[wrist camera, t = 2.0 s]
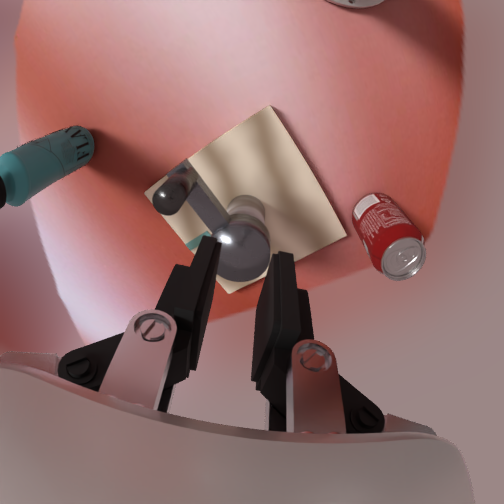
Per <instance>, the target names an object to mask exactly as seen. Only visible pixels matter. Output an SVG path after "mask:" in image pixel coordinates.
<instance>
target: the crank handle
mask: <svg viewBox="0 0 504 504" xmlns="http://www.w3.org/2000/svg"><path fill="white" fill-rule="evenodd" d="M166 175H167V176H168V179H167V180H166V181H165V182H164V183H163V184H162V185H161V186H160V187H159V188H158V189H157V190H156V191H155V193H154V194H153V197H152V202H153V206H154V208H155V209H156V210H157V211H158V212H159V213H160V214H163V215H166V216H170V215H174V214H176V213H177V212H178V211H179V210H180V208H181V207H182V205H183V204H184V202H185V201H187V202H188V203H189V205H190V206H191V207H192V208H193V210H194V211H195V212H196V213H197V215H198V216H199V217H200V219H201V220H202V221H203V222H204V224H205V225H206V226H207V227H208V229H209V230H210V231H211V232H212V234H211V237H215V238H217V242H221V243H222V247H221V252H220V258H219V264H218V270H217V275H219V276H220V277H222V278H224V279H226V280H229V281H234V282H247V281H251V280H254V279H256V278H258V277H259V276H261V275H262V274H263V273H264V272H265V271H266V269H267V268H268V266H269V263H270V245H271V239H270V234H269V231H268V229H267V227H266V226H265V225H264V223H263V222H261V221H260V220H259V219H258V218H256V217H254V216H251V215H248V214H243V213H237V214H231V215H229V214H228V212H227V211H226V210H225V208H224V207H223V206H222V204H221V203H220V202H219V200H218V199H217V198H216V196H215V195H214V194H213V192H212V191H211V190H210V188H209V187H208V186H207V184H206V183H205V182H204V180H203V179H202V178H201V176H200V175H199V174H198V172H197V171H196V170H195V168H194V167H193V166H192V164H191V163H190V162H189V160H188V159H185V160H184V161H182V162H181V163H180V164H178V165H177V166H176V167H174V168H173V169H172V170H171V171H170V172H168V173H167V174H166Z"/></svg>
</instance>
